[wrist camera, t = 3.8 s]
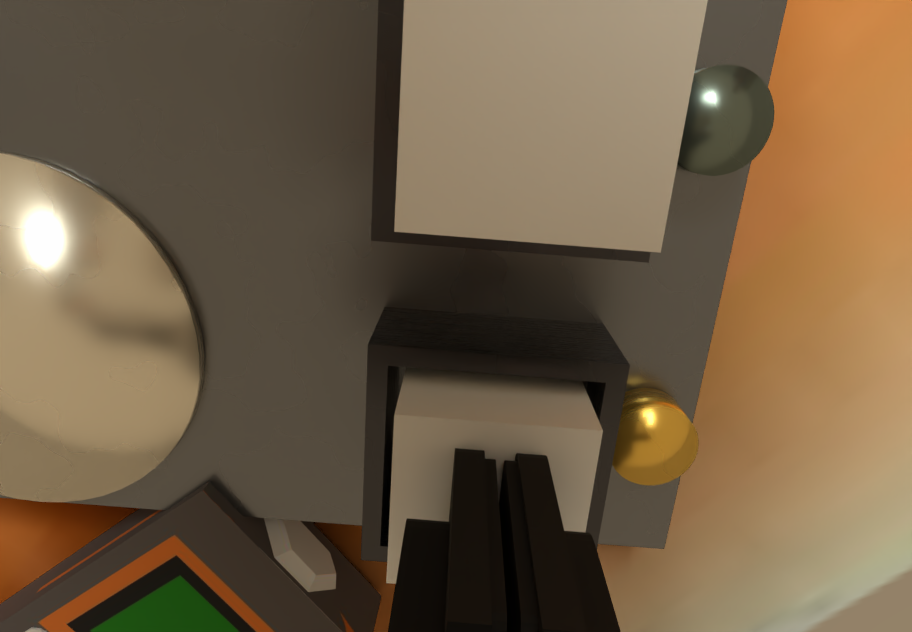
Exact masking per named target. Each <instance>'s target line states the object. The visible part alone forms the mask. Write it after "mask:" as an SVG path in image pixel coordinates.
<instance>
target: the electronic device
mask: <svg viewBox="0 0 912 632" xmlns="http://www.w3.org/2000/svg"><path fill="white" fill-rule="evenodd" d="M380 600H381V595H380V594H379V593H378V592H377V591H376V590H375V589H374V588H373V587H372V586H371V584H370V583H369V582H368V581H367V580H366V579H365V578H364V577H363V576H362V575H361V574H360V573H359V572H358V571H357V570H356V569H355V567H354V566H353V565H352V564H351V563H350V562H349V561H348V560H347V559H346V558H345V557H344V556H343V555H342V554H341V553H340V551H339V550H338V549H337V548H336V547H335V546H334V545H333V544H332V543H331V542H330V541H329V540H328V539H327V538H326V537H325V535H324V534H323V533H322V532H321V531H320V530H319V529H318V528H317V527H316V526H315V525H314V524H313V523H312V522H309V521H296V520H284V519H271V518H258V517H245V516H242V515H241V514H240V513H239V512H238V511H237V510H236V509H235V507H234V506H233V505H232V504H231V503H230V502H229V501H228V500H227V499H226V498H225V497H224V496H223V495H222V494H221V493H220V492H219V491H218V490H217V489H216V488H215V487H214V486H213V485H212V484H211V483H210V482H208V483H206V484H205V485H203V486H202V487H200V488H199V489H197V490H196V491H194V492H193V493H191V494H190V495H188V496H187V497H186V498H184V499H183V500H181V501H180V502H178V503H177V504H175V505H174V506H172V507H171V508H169V509H168V510H154V509H142V508H140V509H138V510H137V511H135V512H134V513H132V514H131V515H129V516H128V517H126V518H125V519H123V520H122V521H120V522H119V523H117V524H116V525H114V526H113V527H111V528H110V529H109V530H107V531H106V532H104V533H103V534H101V535H100V536H98V537H97V538H96V539H94V540H93V541H91V542H90V543H88V544H87V545H85V546H84V547H82V548H81V549H80V550H78V551H77V552H75V553H74V554H72V555H71V556H69V557H68V558H67V559H65V560H64V561H62V562H61V563H59V564H58V565H56V566H55V567H53V568H52V569H51V570H49V571H48V572H46V573H45V574H43V575H42V576H40V577H39V578H38V579H36V580H35V581H33V582H32V583H30V584H29V585H27V586H26V587H24V588H23V589H22V590H20V591H19V592H17V593H16V594H14V595H13V596H11V597H10V598H9V599H7V600H6V601H4V602H3V603H1V604H0V632H373V631H374V627H375V622H376V618H377V613H378V609H379V605H380Z"/></svg>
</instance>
